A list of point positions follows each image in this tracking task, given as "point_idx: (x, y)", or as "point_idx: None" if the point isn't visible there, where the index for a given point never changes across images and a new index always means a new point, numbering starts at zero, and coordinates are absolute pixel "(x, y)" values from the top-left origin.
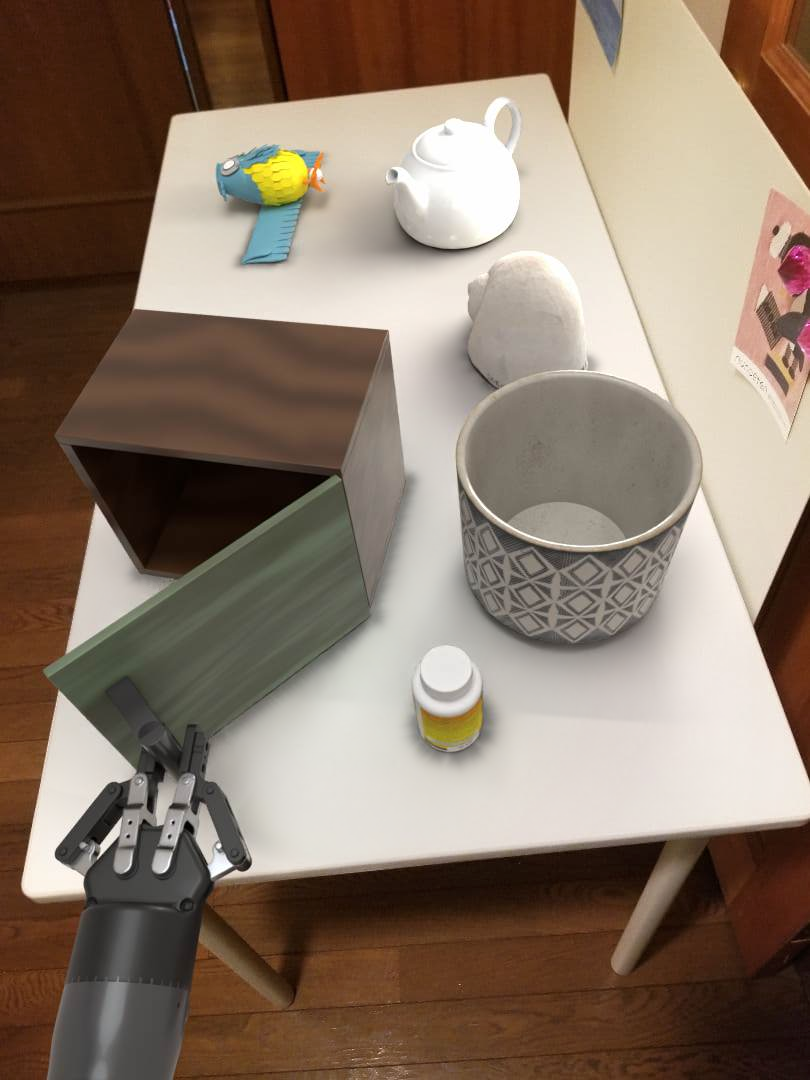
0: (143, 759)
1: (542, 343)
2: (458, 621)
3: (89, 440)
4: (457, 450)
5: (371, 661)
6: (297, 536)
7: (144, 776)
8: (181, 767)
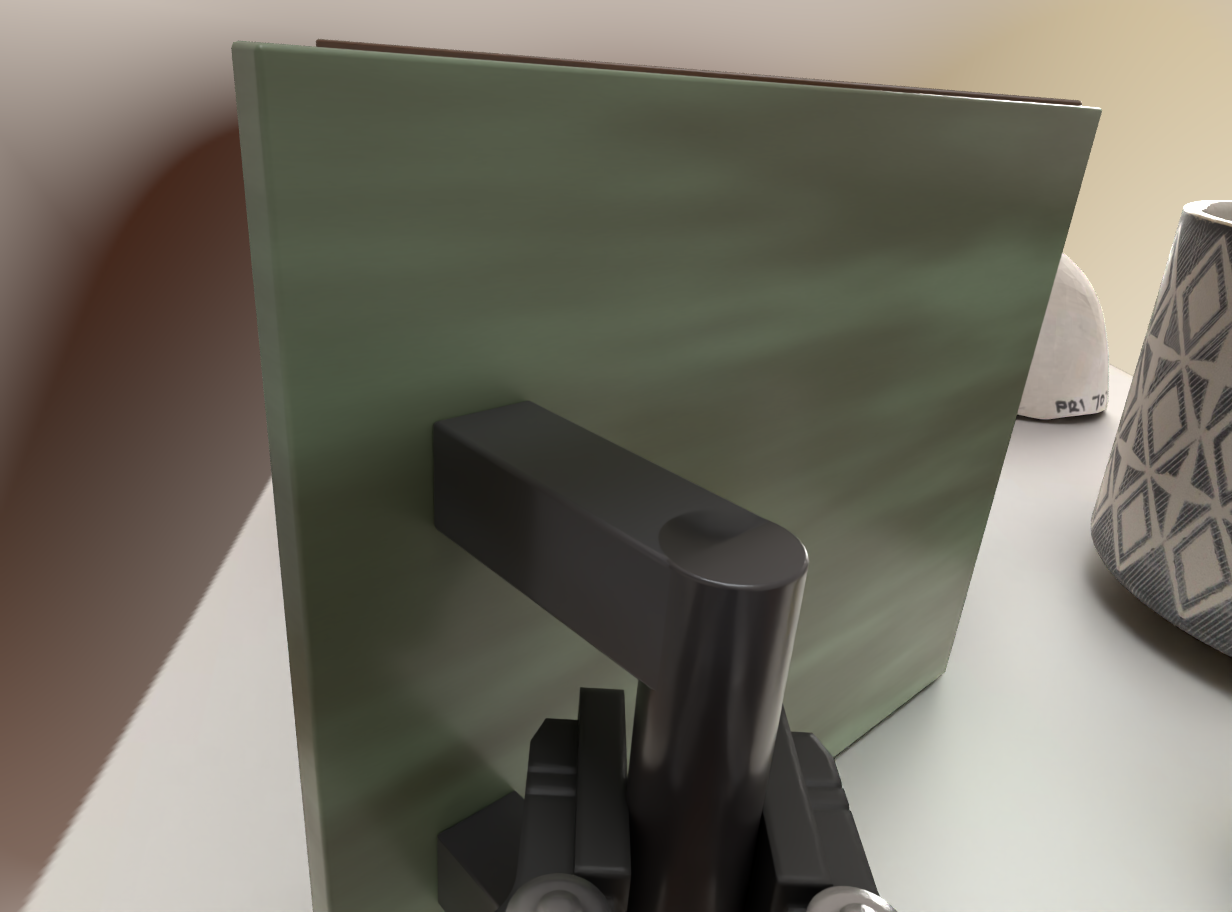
0: (545, 825)
1: (1065, 328)
2: (1165, 699)
3: (405, 50)
4: (1223, 221)
5: (1002, 768)
6: (1003, 214)
7: (589, 892)
8: (790, 860)
